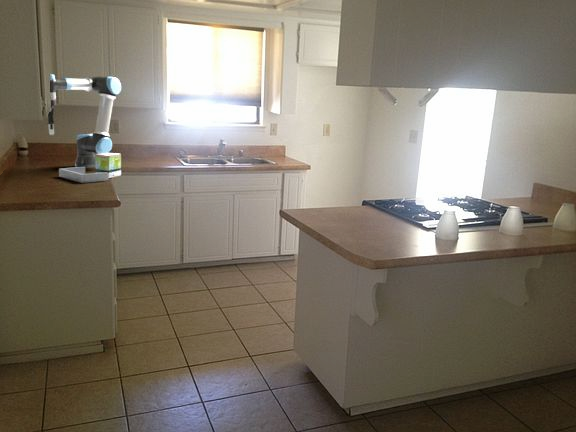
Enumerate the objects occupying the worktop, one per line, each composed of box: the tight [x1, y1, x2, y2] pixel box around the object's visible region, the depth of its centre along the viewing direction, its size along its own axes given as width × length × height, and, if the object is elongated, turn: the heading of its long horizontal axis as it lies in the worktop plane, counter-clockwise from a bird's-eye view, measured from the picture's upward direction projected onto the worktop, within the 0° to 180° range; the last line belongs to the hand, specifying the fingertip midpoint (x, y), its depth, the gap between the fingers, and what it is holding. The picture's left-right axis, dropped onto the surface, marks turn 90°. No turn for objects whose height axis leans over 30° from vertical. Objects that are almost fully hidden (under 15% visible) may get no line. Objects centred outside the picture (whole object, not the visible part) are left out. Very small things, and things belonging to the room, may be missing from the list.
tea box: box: [95, 152, 122, 179], centre depth 338 cm, size 15×10×15 cm, turn 168°
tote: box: [58, 166, 109, 184], centre depth 327 cm, size 17×29×5 cm, turn 49°
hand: (51, 133), depth 332 cm, fingers open, 13 cm apart
